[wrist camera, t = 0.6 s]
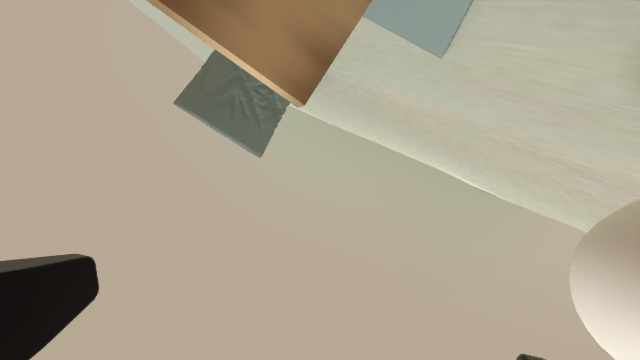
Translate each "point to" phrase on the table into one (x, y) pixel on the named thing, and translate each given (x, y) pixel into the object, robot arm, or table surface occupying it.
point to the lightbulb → (610, 282)
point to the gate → (273, 36)
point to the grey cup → (233, 103)
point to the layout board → (420, 20)
